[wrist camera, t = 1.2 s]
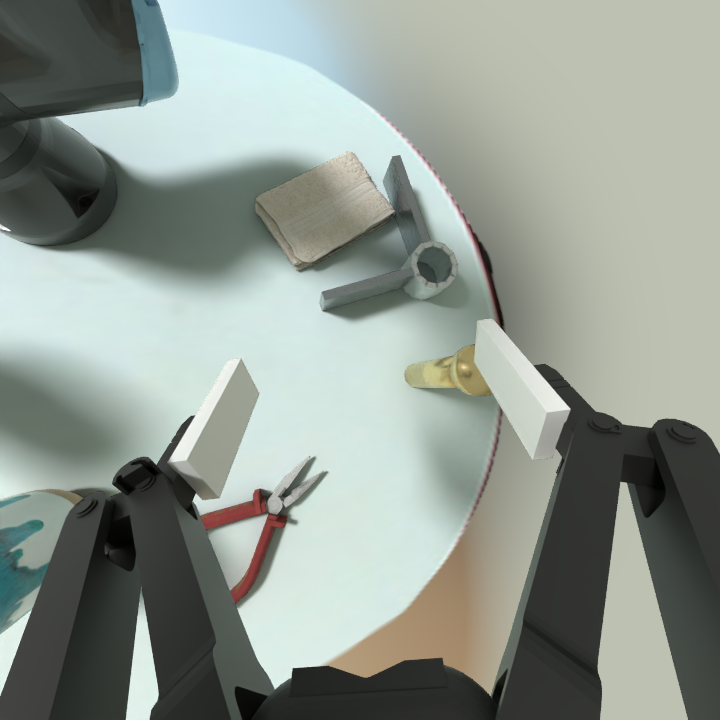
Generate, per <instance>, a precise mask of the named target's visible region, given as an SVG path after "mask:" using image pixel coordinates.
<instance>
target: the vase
mask: <svg viewBox="0 0 720 720" xmlns="http://www.w3.org/2000/svg"><path fill="white" fill-rule="evenodd" d="M81 499H83V498H82V497H81V496H79V495H77V494H75V493H72V492H69V491H65V490H57V489H45V490H36V491H31V492H27V493H22V494H18V495H15V496H11V497H8V498H4V499H1V500H0V634H1V633H3V632H4V631H5V630H6V629H8V628H9V627H10V626H12V625H13V624H14V623H15V622H17V621H18V620H19V619H20V618H22V617H23V616H24V615H25V614H27V613H28V612H29V611H30V610H31V609H33V606H34V603H35V600H36V598H37V595H38V592H39V589H40V587H41V584H42V581H43V579H44V576H45V573H46V570H47V568H48V565H49V562H50V559H51V557H52V554H53V551H54V548H55V546H56V543H57V540H58V538H59V535H60V532H61V529H62V527H63V524H64V521H65V518H66V516H67V515H68V513H69V511H70V510H71V509H72V508H73V507H74V505H75V504H77V503H78V502H79V501H80V500H81Z"/></svg>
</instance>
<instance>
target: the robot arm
mask: <svg viewBox="0 0 720 720" xmlns="http://www.w3.org/2000/svg"><path fill="white" fill-rule="evenodd" d="M178 82H179V81H178V72H177V67H176V62H175V58H174V54H173V50H172V47H171V43H170V39H169V36H168V32H167V29H166V25H165V22H164V19H163V15H162V12H161V9H160V6H159V4H158V1H157V0H0V232H1V233H3V234H5V235H7V236H9V237H11V238H14V239H16V240H19V241H22V242H26V243H31V244H37V245H60V244H66V243H70V242H73V241H77V240H79V239H82V238H84V237H86V236H88V235H89V234H91V233H93V232H94V231H95V230H97V229H98V228H99V227H100V226H101V225H102V224H103V223H104V222H105V221H106V220H107V218H108V217H109V215H110V213H111V212H112V209H113V207H114V204H115V200H116V182H115V178H114V175H113V172H112V170H111V168H110V166H109V164H108V163H107V162H106V160H105V159H104V158H103V156H102V155H101V154H100V153H99V152H98V151H97V150H96V149H95V147H94V146H93V145H92V144H91V143H90V142H89V141H88V140H87V139H86V138H85V137H83V136H82V135H81V134H80V133H78V132H77V131H76V130H74V129H73V128H71V127H69V126H67V125H66V124H64V123H63V122H61V121H60V120H58V119H57V118H55V116H63V115H71V114H79V113H87V112H95V111H103V110H111V109H118V108H126V107H134V106H140V107H142V106H145V105H146V104H147V103H149V102H154V101H158V100H162V99H166V98H170V97H172V96H173V95H174V94H175V93H176V91H177V89H178ZM474 363H475V364H476V366H477V368H478V369H479V371H480V373H481V374H482V376H483V378H484V379H485V381H486V383H487V385H488V386H489V388H490V390H491V391H492V393H493V395H494V396H495V398H496V400H497V401H498V403H499V405H500V406H501V408H502V410H503V411H504V413H505V415H506V417H507V418H508V420H509V422H510V423H511V424H512V427H513V428H514V430H515V431H516V433H517V435H518V437H519V438H520V440H521V442H522V443H523V445H524V447H525V448H526V450H527V452H528V453H529V455H530V457H531V459H532V460H540V459H548V458H553V455H554V453H555V450H556V449H557V450H558V452H559V453H560V455H561V456H562V460H561V462H560V465H559V467H558V469H557V472H556V473H557V476H556V479H555V482H554V486H553V489H552V493H551V496H550V500H549V503H548V507H547V510H546V513H545V517H544V520H543V524H542V527H541V530H540V534H539V537H538V541H537V544H536V548H535V551H534V554H533V558H532V561H531V565H530V568H529V572H528V575H527V579H526V582H525V586H524V589H523V592H522V596H521V599H520V603H519V606H518V610H517V613H516V616H515V620H514V623H513V627H512V630H511V634H510V637H509V640H508V643H507V646H506V649H505V652H504V655H503V658H502V661H501V664H500V667H499V670H498V674H497V677H496V680H495V684H494V687H493V690H492V694H491V696H490V695H489V694H488V693H487V692H486V691H485V690H484V689H483V688H482V687H481V686H480V685H479V684H477V683H476V682H475V681H474V680H473V679H471V678H470V677H468V676H467V675H465V674H464V673H462V672H460V671H458V670H456V669H454V668H452V667H449V666H446V665H443V659H442V658H433V659H420V660H406V661H402V662H400V663H398V664H396V665H394V666H392V667H390V668H388V669H386V670H384V671H382V672H380V673H378V674H375V675H373V676H371V677H368V678H363V677H360V676H357V675H354V674H351V673H348V672H345V671H342V670H339V669H336V668H333V667H330V666H319V667H305V668H293V671H292V678H290V679H289V680H287V681H286V682H284V683H283V684H281V685H280V686H279V687H278V688H276V689H274V687H273V685H272V683H271V681H270V679H269V677H268V675H267V673H266V672H265V671H264V669H263V668H262V666H261V665H260V664H259V662H258V660H257V658H256V656H255V653H254V651H253V648H252V646H251V643H250V641H249V638H248V636H247V633H246V630H245V628H244V625H243V623H242V620H241V618H240V615H239V613H238V610H237V608H236V605H235V603H234V600H233V598H232V595H231V593H230V590H229V588H228V585H227V582H226V580H225V577H224V575H223V572H222V570H221V567H220V565H219V562H218V560H217V557H216V555H215V552H214V550H213V547H212V545H211V542H210V540H209V537H208V534H207V532H206V529H205V527H204V524H203V522H202V519H201V517H200V514H199V512H198V509H197V507H196V505H195V504H194V503H193V498H194V496H195V494H196V493H197V495H198V496H199V497H200V498H201V499H202V500H208V499H216V498H220V495H221V493H222V490H223V488H224V485H225V482H226V480H227V477H228V475H229V472H230V469H231V467H232V464H233V461H234V459H235V456H236V454H237V451H238V448H239V446H240V443H241V441H242V438H243V435H244V433H245V430H246V427H247V425H248V422H249V420H250V417H251V414H252V412H253V409H254V406H255V404H256V401H257V399H258V396H259V392H258V390H257V388H256V386H255V384H254V382H253V380H252V378H251V377H250V375H249V373H248V371H247V369H246V367H245V365H244V363H243V361H242V359H241V358H240V359H233V360H228V362H227V363H226V365H225V367H224V368H223V370H222V372H221V373H220V375H219V377H218V379H217V380H216V382H215V384H214V385H213V387H212V389H211V390H210V392H209V394H208V395H207V397H206V399H205V400H204V402H203V404H202V405H201V407H200V409H199V410H198V412H197V414H196V415H194V416H190V417H189V418H188V419H187V420H186V421H185V422H184V423H183V424H182V425H181V427H180V428H179V430H178V431H177V433H176V436H174V438H173V439H172V443H170V444H169V446H168V447H167V449H166V451H165V452H164V454H163V455H162V457H161V459H160V460H159V462H158V463H157V465H156V464H155V463H154V462H153V461H152V460H151V459H150V458H149V457H140V458H136V459H134V460H132V461H130V462H129V463H127V464H126V465H125V466H123V467H122V468H121V469H120V470H119V471H118V472H117V473H116V475H115V477H114V478H113V482H112V484H113V485H114V486H115V487H116V488H118V489H119V490H120V491H121V493H119V494H116V495H114V496H111V497H109V496H108V495H107V494H106V493H104V492H103V491H97V492H95V493H92V494H89V495H88V496H86V497H84V498H83V499H81V500H80V501H79V502H78V503H77V504H75V505H74V507H73V508H72V509H71V510H70V511H69V513H68V515H67V516H66V518H65V521H64V524H63V527H62V529H61V532H60V535H59V538H58V540H57V543H56V546H55V548H54V551H53V554H52V557H51V559H50V562H49V565H48V568H47V570H46V573H45V576H44V579H43V581H42V584H41V587H40V589H39V592H38V595H37V598H36V600H35V603H34V606H33V609H32V611H31V614H30V617H29V619H28V622H27V625H26V628H25V630H24V633H23V636H22V639H21V641H20V644H19V647H18V650H17V652H16V655H15V658H14V660H13V663H12V666H11V669H10V671H9V674H8V677H7V680H6V682H5V685H4V688H3V691H2V693H1V696H0V720H126V711H127V703H128V694H129V685H130V676H131V667H132V659H133V650H134V641H135V632H136V624H137V615H138V606H139V597H140V589H141V586H142V592H143V598H144V604H145V610H146V616H147V622H148V628H149V635H150V641H151V647H152V653H153V659H154V665H155V671H156V677H157V683H158V690H159V697H158V701H157V702H156V704H155V705H154V707H153V708H152V710H151V715H150V720H600V711H601V700H602V686H601V680H600V677H599V674H598V669H597V668H598V667H597V665H598V655H599V647H600V639H601V630H602V623H603V615H604V607H605V599H606V591H607V582H608V574H609V566H610V559H611V551H612V542H613V535H614V527H615V519H616V511H617V504H618V496H619V488H620V482H626V483H627V485H628V488H629V492H630V496H631V500H632V504H633V508H634V512H635V515H636V519H637V523H638V527H639V531H640V535H641V539H642V542H643V547H644V551H645V554H646V558H647V562H648V566H649V570H650V574H651V578H652V581H653V585H654V589H655V593H656V597H657V601H658V604H659V609H660V612H661V616H662V620H663V624H664V628H665V632H666V636H667V639H668V643H669V647H670V651H671V655H672V659H673V662H674V667H675V670H676V674H677V678H678V682H679V686H680V690H681V693H682V697H683V701H684V705H685V709H686V713H687V717H688V720H720V454H719V452H718V450H717V448H716V447H715V445H714V443H713V441H712V439H711V438H710V437H709V436H708V435H707V434H706V433H705V432H704V431H703V430H701V429H700V428H698V427H696V426H694V425H692V424H689V423H687V422H684V421H680V420H677V419H662V420H658V421H657V422H656V423H655V424H654V426H653V427H652V428H646V427H637V426H628V425H622V423H621V422H619V421H618V420H617V419H615V418H614V417H612V416H609V415H607V414H605V413H600V412H596V411H595V410H594V409H593V408H592V407H591V406H590V405H589V404H588V403H587V402H586V401H585V400H584V399H583V398H582V397H581V396H580V395H579V394H578V393H577V392H576V391H575V389H574V388H573V387H571V386H570V384H569V383H568V382H567V381H566V380H564V378H563V377H562V376H561V375H560V374H559V373H558V372H557V371H556V370H555V369H553V368H551V367H549V366H548V365H546V364H541V365H534V366H533V365H532V364H531V363H530V362H529V360H528V359H527V358H526V357H525V356H524V355H523V354H522V352H521V351H520V350H519V349H518V348H517V347H516V345H515V344H514V343H513V342H512V341H511V340H510V338H509V337H508V336H507V335H506V334H505V333H504V331H503V330H502V329H501V328H500V327H499V326H498V324H497V323H496V322H495V321H494V320H493V319H492V318H490V319H484V320H478V321H477V331H476V343H475V356H474Z"/></svg>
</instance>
